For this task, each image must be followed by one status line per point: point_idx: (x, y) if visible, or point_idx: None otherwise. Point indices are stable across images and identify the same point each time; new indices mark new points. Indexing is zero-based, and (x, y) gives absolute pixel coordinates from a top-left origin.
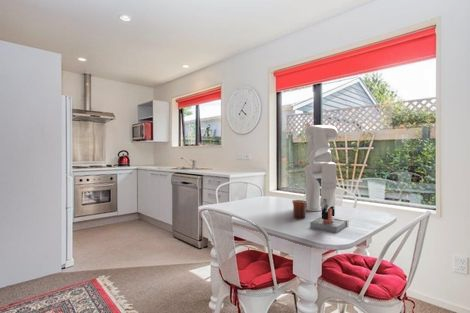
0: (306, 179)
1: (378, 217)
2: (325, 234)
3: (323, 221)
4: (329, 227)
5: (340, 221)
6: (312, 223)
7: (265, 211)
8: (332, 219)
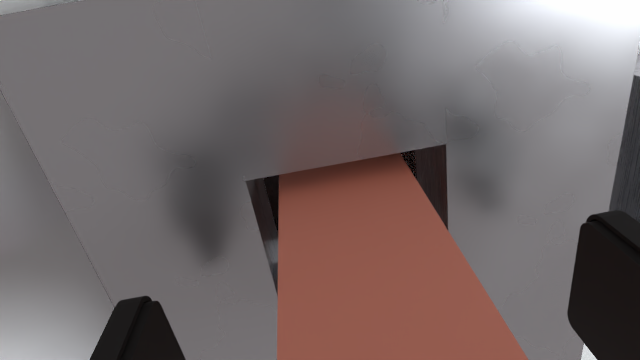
0: None
1: None
2: (11, 335)
3: (281, 201)
4: None
5: (529, 335)
6: (11, 78)
7: None
8: (595, 201)
